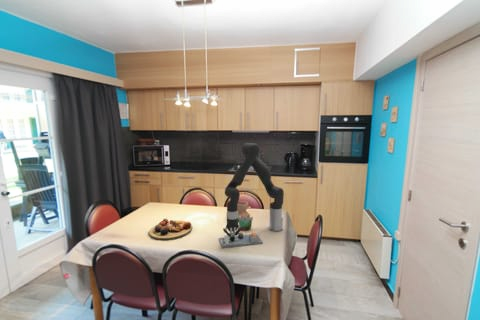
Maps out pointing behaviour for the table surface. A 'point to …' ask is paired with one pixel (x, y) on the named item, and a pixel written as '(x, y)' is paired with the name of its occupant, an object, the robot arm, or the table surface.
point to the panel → (241, 241)
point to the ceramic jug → (243, 208)
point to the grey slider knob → (226, 239)
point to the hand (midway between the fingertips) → (232, 241)
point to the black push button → (240, 235)
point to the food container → (245, 222)
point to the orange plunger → (253, 234)
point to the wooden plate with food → (170, 230)
